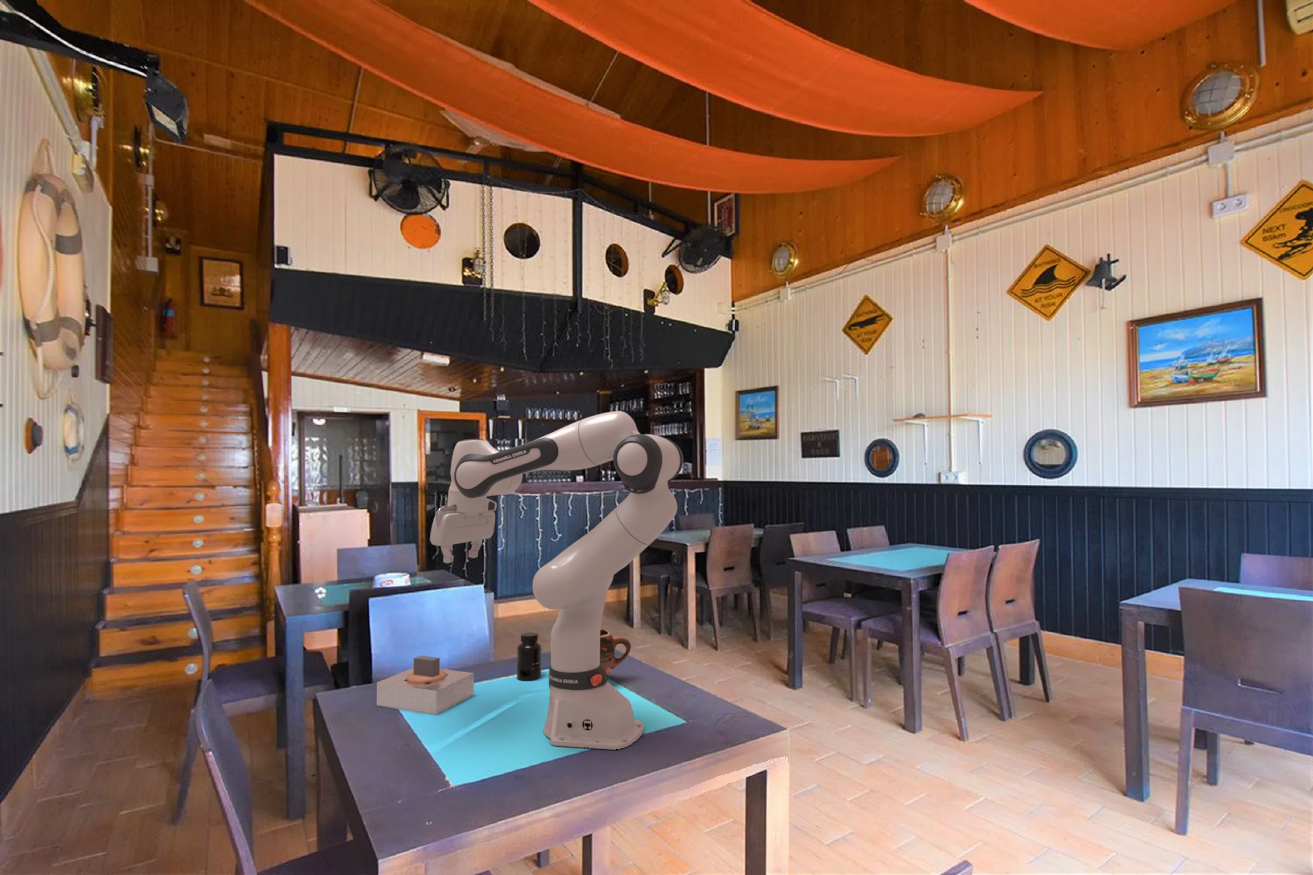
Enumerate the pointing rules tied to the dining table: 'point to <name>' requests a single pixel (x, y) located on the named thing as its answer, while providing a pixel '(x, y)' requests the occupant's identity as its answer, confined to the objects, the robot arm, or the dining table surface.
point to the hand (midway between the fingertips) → (460, 559)
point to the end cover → (426, 670)
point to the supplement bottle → (529, 657)
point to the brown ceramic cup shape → (611, 649)
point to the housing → (425, 692)
